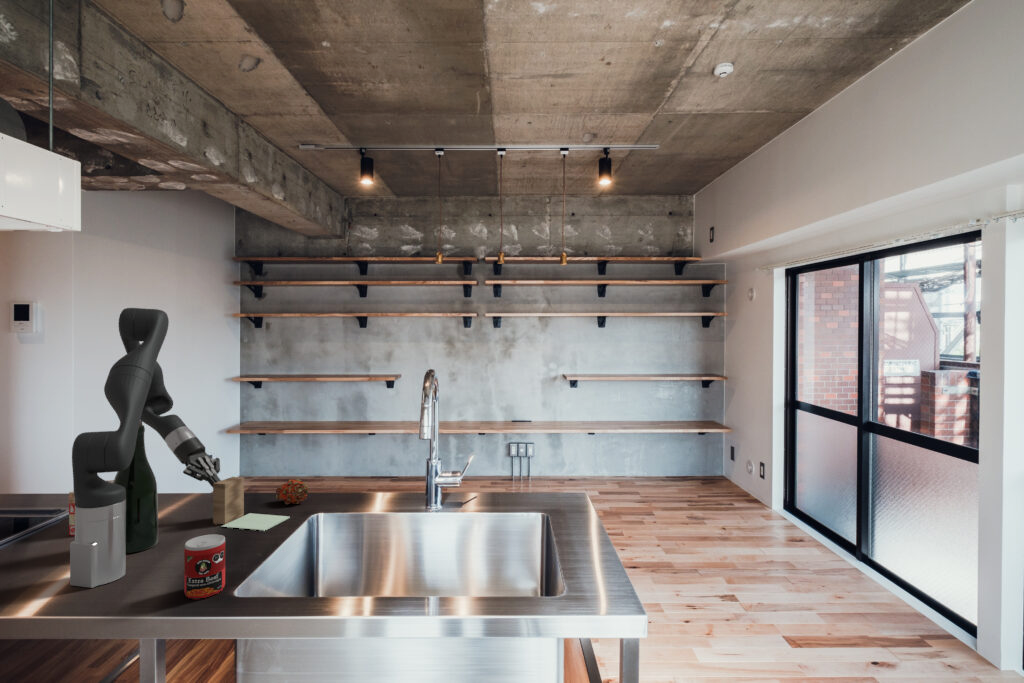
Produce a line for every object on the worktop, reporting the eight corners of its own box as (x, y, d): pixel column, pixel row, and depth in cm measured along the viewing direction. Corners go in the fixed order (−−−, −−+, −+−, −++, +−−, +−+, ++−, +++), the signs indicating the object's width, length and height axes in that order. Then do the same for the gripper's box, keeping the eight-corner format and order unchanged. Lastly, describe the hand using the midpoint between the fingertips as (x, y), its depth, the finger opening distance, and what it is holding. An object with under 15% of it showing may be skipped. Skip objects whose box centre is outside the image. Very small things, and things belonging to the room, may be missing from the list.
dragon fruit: (307, 510, 179) (278, 512, 182) (319, 489, 185) (290, 491, 189) (294, 493, 174) (264, 495, 178) (307, 472, 181) (277, 475, 185)
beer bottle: (142, 554, 137) (143, 423, 137) (99, 555, 137) (99, 424, 137) (166, 539, 148) (166, 417, 148) (126, 540, 147) (126, 418, 147)
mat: (264, 531, 155) (264, 529, 155) (221, 527, 158) (221, 526, 158) (289, 517, 166) (289, 516, 166) (249, 514, 169) (249, 513, 169)
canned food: (181, 603, 112) (181, 549, 112) (187, 586, 120) (187, 536, 120) (223, 596, 115) (223, 544, 115) (226, 580, 123) (226, 532, 123)
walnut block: (224, 525, 160) (224, 484, 160) (212, 524, 160) (212, 483, 160) (243, 516, 167) (243, 477, 167) (231, 515, 168) (231, 476, 168)
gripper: (174, 440, 160) (210, 484, 157) (208, 433, 173) (242, 473, 170) (159, 457, 161) (195, 501, 159) (194, 449, 174) (227, 489, 171)
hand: (219, 487), depth 164 cm, fingers closed
